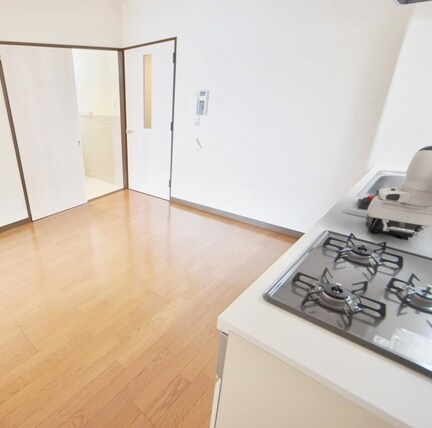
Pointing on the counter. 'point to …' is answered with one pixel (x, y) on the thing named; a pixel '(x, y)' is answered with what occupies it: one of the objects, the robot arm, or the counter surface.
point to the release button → (370, 198)
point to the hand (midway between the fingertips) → (399, 233)
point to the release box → (363, 203)
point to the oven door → (395, 227)
